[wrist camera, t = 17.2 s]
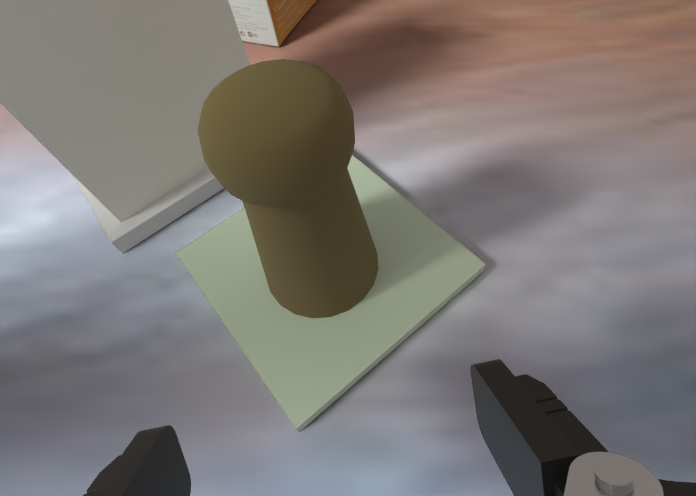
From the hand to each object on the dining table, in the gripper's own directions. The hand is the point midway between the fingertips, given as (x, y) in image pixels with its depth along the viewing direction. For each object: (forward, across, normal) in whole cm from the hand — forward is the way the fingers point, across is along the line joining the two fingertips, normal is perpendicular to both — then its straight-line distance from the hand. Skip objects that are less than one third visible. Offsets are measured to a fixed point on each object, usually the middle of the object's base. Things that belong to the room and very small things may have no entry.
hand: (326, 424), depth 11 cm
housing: (+20, +8, -9) cm, 23 cm away
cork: (+12, 0, -1) cm, 12 cm away
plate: (+12, 0, -1) cm, 12 cm away
